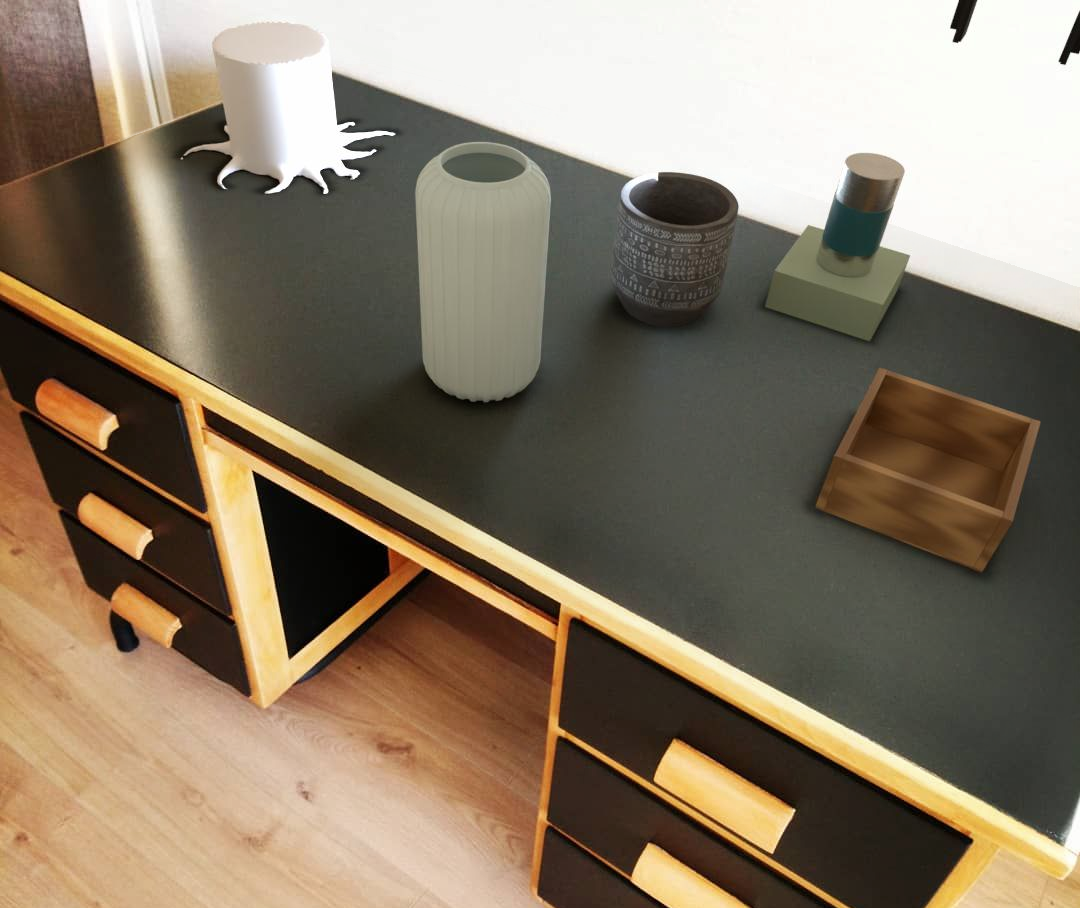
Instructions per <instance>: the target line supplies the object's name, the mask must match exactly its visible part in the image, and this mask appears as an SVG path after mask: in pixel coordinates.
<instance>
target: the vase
mask: <svg viewBox="0 0 1080 908" xmlns="http://www.w3.org/2000/svg"><path fill="white" fill-rule="evenodd" d="M414 194H415V195H414V197H415V217H416V218H415V219H416V235H417V236H416V239H417V240H416V241H417V242H416V244H417V260H418V261H417V262H418V282H419V284H418V285H419V286H418V287H419V306H420V310H419V311H420V327H421V328H420V329H421V350H422V351H421V352H422V354H421V355H422V362H423V366H424V370H425V372H426V374H427V375H428V377H429V378H430V379H431V380H432V382H433V383H434V384H435V386H436V387H438V388H439V389H441V390H443V391H444V392H445V393H446V394H448V395H450V396H452V397H454V396H455V397H456V398H457V399H460V400H463V401H464V400H469V401H470V402H473V403H476V402H478V401H482V402H483V403H489V402H490V401H496V402H498V401H502V400H503V399H504V398H507V399H509V398H511V397H513V396H515V395H516V394H518V393H520V392H522V391H524V390H525V389H526V388H527V386H528V385H529V384H531V383H532V382H533V380H534V379H535V377H536V376H537V372H538V371H539V367H540V363H541V353H542V341H543V340H542V339H543V338H542V337H543V326H544V325H543V323H544V308H545V305H544V304H545V293H546V279H547V278H546V277H547V276H546V275H547V264H548V263H547V261H548V248H549V234H550V232H549V231H550V217H551V204H552V203H551V201H552V197H551V195H552V194H551V187H550V183H549V180H548V178H547V177H546V175H545V172H544V171H543V170H542V168H541V167H540V166H539V165H538V164H537V163H536V162H535V161H533V160H532V159H531V158H530V157H528V156H527V155H525V154H524V153H523V152H521V151H520V150H518V149H516V148H515V147H512V146H510V145H506V144H503V143H497V142H491V141H470V142H464V143H463V142H462V143H458V144H456V145H453V146H451V147H448V148H446V149H445V150H443V151H442V152H440V153H439V154H438V155H436V156H434V157H433V158H432V159H431V160H429V161H428V162H427V163H426V165H425V166H424V167H423V169H422V170H421V171H420V173H419V175H418V178H417V180H416V185H415V193H414Z"/></svg>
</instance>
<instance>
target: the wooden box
mask: <svg viewBox="0 0 1080 908" xmlns="http://www.w3.org/2000/svg"><path fill="white" fill-rule="evenodd" d="M1040 426H1041V421H1040V420H1037V419H1034V418H1032V417H1029V416H1026V415H1022V414H1019V413H1016V412H1013V411H1010V410H1007V409H1005V408H1001V407H998V406H996V405H993V404H989V403H988V402H983V401H981V400H978V399H975V398H972V397H969V396H966V395H964V394H963V395H962V394H961V393H958V392H954V391H951V390H948V389H945V388H942V387H940V386H936V385H933V384H930V383H928V382H924V381H921V380H918V379H915V378H913V377H909V376H906V375H904V374H900V373H898V372H895V371H892V370H890V369H886V368H882V367H879V368H878V369H877V371H876V374H875V375H874V377H873V379H872V381H871V383H870V384H869V387H868V389H867V390H866V392H865V395H864V397H863V399H862V401H861V403H860V404H859V407H858V408H857V410H856V412H855V414H854V416H853V418H852V420H851V422H850V423H849V426H848V428H847V429H846V432H845V433H844V436H843V438H842V440H841V442H840V444H839V446H838V448H837V449H836V452H835V453H834V456H833V458H832V461H831V464H830V466H829V469H828V472H827V474H826V476H825V480H824V482H823V485H822V488H821V490H820V493H819V494H818V495H819V496H818V498H817V501H816V503H815V506H814V508H815V509H818V510H820V511H823V512H825V513H828V514H830V515H833V516H836V517H838V518H841V519H842V520H845V521H848V522H851V523H853V524H856V525H859V526H861V527H864V528H865V529H866V528H867V529H869V530H871V531H874V532H875V533H876V532H877V533H879V534H882V535H884V536H887V537H889V538H892V539H894V540H897V541H900V542H902V543H905V544H908V545H910V546H913V547H915V548H918V549H920V550H923V551H926V552H929V553H930V554H933V555H935V556H939V557H940V558H943V559H946V560H948V561H951V562H954V563H957V564H959V565H961V566H964V567H967V568H969V569H972V570H974V571H977V572H980V573H983V571H984V570H985V568H986V567H987V565H988V563H989V561H990V560H991V558H992V557H993V555H994V553H995V551H996V550H997V548H998V546H999V545H1000V544H1001V541H1002V540H1003V538H1004V537H1005V535H1006V534H1007V532H1008V530H1009V529H1010V527H1011V525H1012V524H1013V521H1014V519H1015V515H1016V511H1017V507H1018V504H1019V501H1020V497H1021V493H1022V490H1023V486H1024V484H1025V479H1026V476H1027V472H1028V468H1029V465H1030V461H1031V458H1032V454H1033V450H1034V447H1035V444H1036V440H1037V437H1038V433H1039V429H1040Z"/></svg>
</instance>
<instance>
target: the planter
mask: <svg viewBox="0 0 1080 908" xmlns="http://www.w3.org/2000/svg"><path fill="white" fill-rule="evenodd" d="M739 206H740V205H739V202H738V199H737V198H736V195H734V194H733V192H732V191H731V190H730V189H729V188H727V187H726V186H724V185H723V184H721V183H719V182H717V181H715V180H713V179H710V178H708V177H704V176H700V175H697V174H693V173H692V174H691V173H685V172H675V171H660V172H659V171H657V172H650V173H645V174H641V175H639V176H637V177H633V178H632V179H630V180H629V181H627V182H626V183H625V184H624V185H623V186H622V188H621V189H620V194H619V202H618V210H617V217H616V225H615V231H614V232H615V234H614V241H613V242H614V244H613V249H612V256H611V261H610V262H611V263H610V274H609V276H610V281H611V284H612V288H613V289H614V292H615V293H616V296H617V298H618V299H619V301H620V303H621V304H622V306H623V308H624V309H625V311H626V312H627V313H628V314H629V315H630V316H632V317H633V318H634V319H636V320H638V321H640V322H642V323H645V324H647V325H651V326H657V327H664V328H665V327H669V328H670V327H671V328H672V327H679V326H684V325H687V324H689V323H692V322H693V321H695V320H696V319H697V318H699V316H701V315H702V314H703V313H704V312H705V311H706V310H707V309H709V307H710V306H711V305H712V304H713V303H714V302H715V301H716V299H717V298H718V297H719V295H720V293H721V291H722V287H723V284H724V279H725V275H726V270H727V264H728V259H729V255H730V251H731V248H732V247H731V246H732V242H733V238H734V233H735V228H736V222H737V219H738V218H737V217H738V214H739Z"/></svg>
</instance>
